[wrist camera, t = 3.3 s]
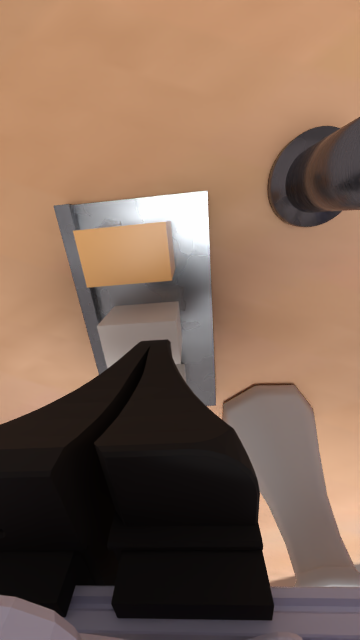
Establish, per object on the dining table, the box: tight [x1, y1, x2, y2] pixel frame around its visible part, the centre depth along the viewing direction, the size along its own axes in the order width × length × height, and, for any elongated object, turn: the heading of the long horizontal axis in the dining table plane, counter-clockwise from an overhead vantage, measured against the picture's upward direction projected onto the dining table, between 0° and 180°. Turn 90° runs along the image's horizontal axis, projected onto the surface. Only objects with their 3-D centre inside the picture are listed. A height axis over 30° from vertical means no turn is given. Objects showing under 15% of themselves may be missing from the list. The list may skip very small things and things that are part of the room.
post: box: [268, 117, 360, 227], centre depth 10 cm, size 4×4×6 cm
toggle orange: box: [73, 221, 175, 288], centre depth 12 cm, size 4×2×3 cm, turn 95°
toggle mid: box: [97, 301, 182, 368], centre depth 13 cm, size 4×2×3 cm, turn 95°
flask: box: [223, 385, 360, 587], centre depth 14 cm, size 7×7×10 cm
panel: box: [54, 191, 216, 406], centre depth 15 cm, size 8×14×2 cm, turn 5°
